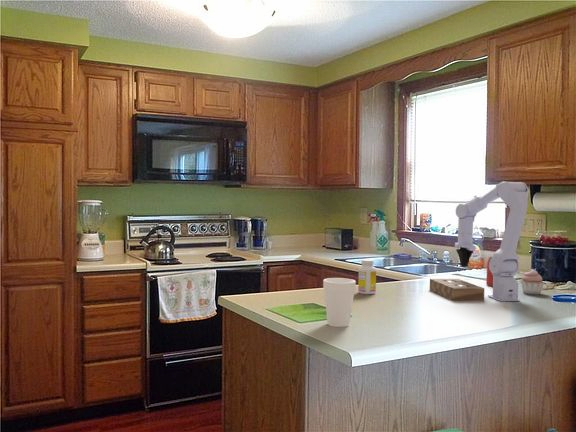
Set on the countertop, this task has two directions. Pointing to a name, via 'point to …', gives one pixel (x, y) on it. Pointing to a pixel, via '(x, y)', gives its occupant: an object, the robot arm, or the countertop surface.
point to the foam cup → (339, 300)
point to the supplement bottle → (367, 277)
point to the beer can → (489, 274)
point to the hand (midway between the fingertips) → (464, 266)
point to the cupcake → (532, 283)
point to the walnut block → (457, 290)
